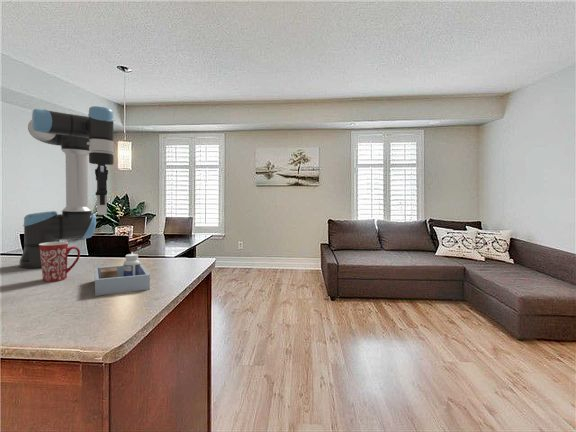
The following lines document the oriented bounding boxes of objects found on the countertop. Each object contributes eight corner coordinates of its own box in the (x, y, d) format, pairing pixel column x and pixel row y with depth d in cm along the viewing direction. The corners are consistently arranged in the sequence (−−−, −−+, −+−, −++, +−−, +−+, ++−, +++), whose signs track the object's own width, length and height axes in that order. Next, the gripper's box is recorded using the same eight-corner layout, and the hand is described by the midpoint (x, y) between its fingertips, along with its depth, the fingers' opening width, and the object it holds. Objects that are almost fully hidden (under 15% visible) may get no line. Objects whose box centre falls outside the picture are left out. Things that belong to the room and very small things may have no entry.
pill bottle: (137, 279, 123) (137, 253, 123) (142, 282, 119) (142, 255, 119) (121, 281, 120) (121, 254, 119) (126, 284, 116) (126, 256, 115)
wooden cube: (116, 281, 119) (116, 267, 119) (117, 285, 115) (117, 270, 115) (100, 283, 117) (100, 269, 116) (101, 286, 112) (100, 272, 112)
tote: (94, 281, 122) (94, 267, 122) (141, 276, 130) (141, 264, 130) (95, 295, 105) (95, 279, 105) (149, 289, 113) (149, 274, 113)
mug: (37, 283, 117) (36, 245, 117) (41, 277, 125) (40, 242, 124) (79, 279, 124) (79, 243, 123) (80, 274, 131) (80, 240, 131)
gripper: (89, 154, 125) (89, 210, 127) (88, 148, 104) (89, 216, 106) (111, 156, 129) (111, 210, 131) (115, 150, 108) (115, 216, 109)
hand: (101, 213), depth 118 cm, fingers open, 13 cm apart
